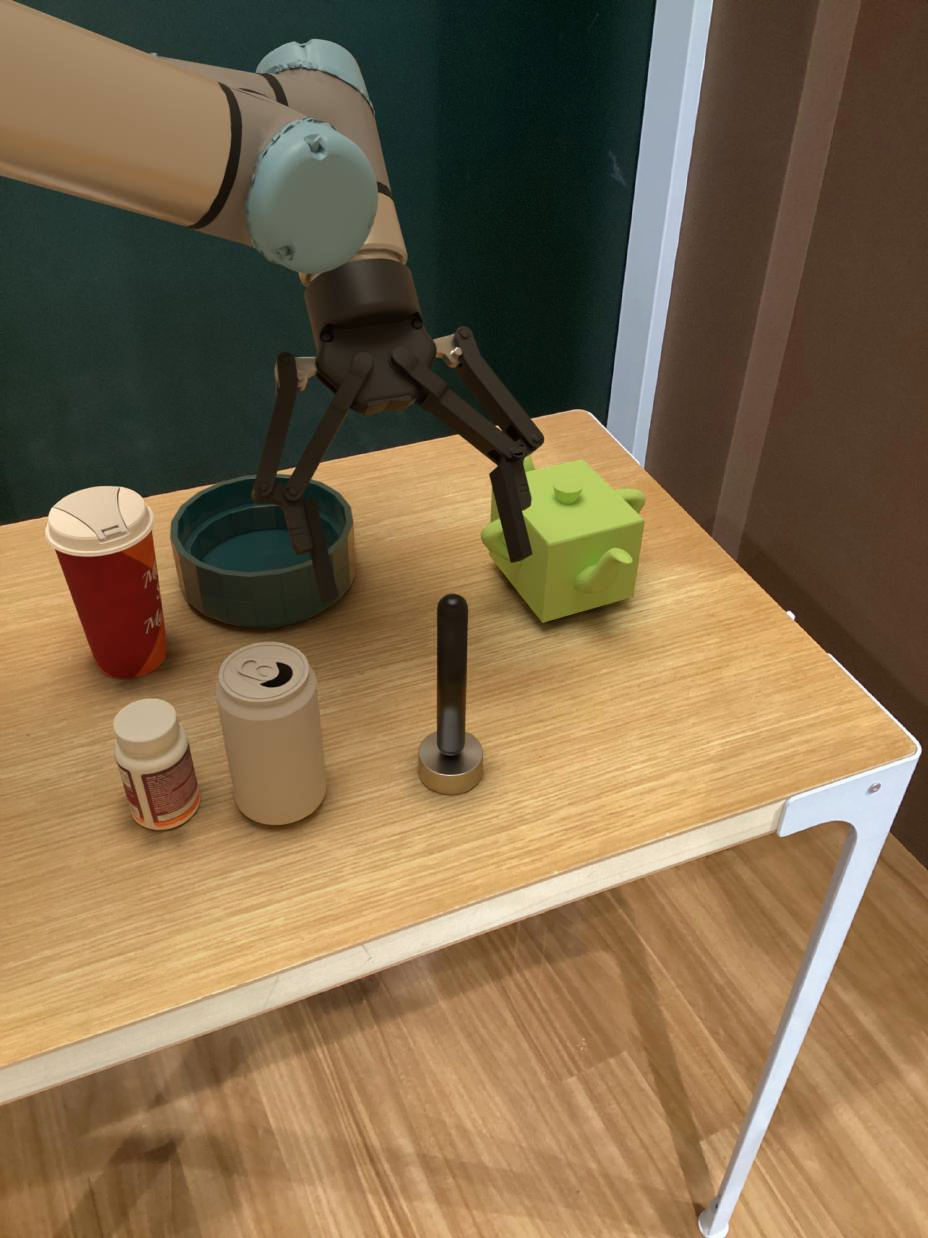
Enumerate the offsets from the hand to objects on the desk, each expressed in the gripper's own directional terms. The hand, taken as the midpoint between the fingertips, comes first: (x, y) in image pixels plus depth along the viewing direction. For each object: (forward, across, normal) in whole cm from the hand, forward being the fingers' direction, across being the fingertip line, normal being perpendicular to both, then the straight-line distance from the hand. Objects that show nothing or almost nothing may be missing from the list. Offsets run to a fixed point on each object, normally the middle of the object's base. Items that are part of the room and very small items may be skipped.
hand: (428, 579), depth 72 cm
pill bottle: (+11, +20, -9) cm, 24 cm away
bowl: (-6, +8, -25) cm, 27 cm away
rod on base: (+13, 0, -6) cm, 15 cm away
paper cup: (-1, +20, -21) cm, 29 cm away
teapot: (+1, -16, -19) cm, 25 cm away
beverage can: (+12, +12, -8) cm, 19 cm away
